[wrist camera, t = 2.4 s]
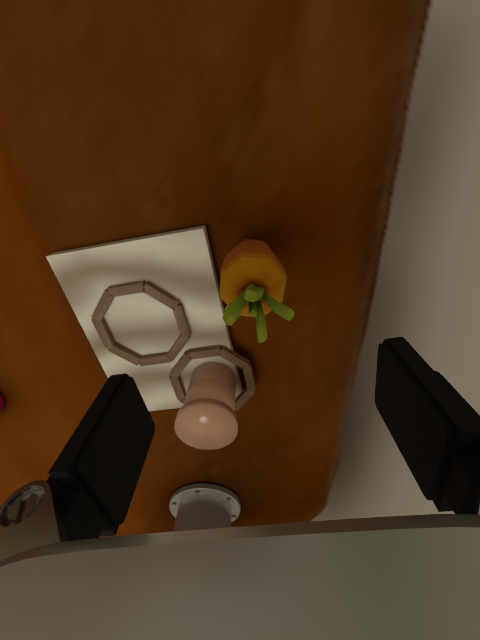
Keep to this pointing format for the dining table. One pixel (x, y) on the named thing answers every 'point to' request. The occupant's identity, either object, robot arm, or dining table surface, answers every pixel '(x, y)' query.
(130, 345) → the stand
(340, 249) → the dining table surface
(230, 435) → the pink lidded jar
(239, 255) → the carrot
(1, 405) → the pepper mill
